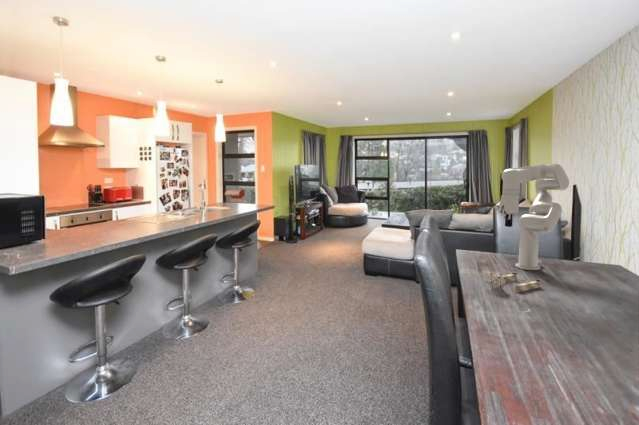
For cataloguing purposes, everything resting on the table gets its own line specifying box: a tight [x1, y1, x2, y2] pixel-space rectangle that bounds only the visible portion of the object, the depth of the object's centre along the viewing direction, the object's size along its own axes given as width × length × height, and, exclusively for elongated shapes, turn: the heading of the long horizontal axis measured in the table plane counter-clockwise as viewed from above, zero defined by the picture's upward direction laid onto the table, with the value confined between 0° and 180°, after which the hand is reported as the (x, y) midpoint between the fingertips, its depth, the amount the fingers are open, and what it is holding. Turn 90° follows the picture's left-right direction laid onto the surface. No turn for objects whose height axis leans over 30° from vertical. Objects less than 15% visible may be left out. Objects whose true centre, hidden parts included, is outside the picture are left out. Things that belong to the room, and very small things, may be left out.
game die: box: [485, 273, 509, 292], centre depth 165 cm, size 9×8×10 cm
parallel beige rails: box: [501, 271, 542, 293], centre depth 171 cm, size 16×14×4 cm
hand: (508, 226), depth 185 cm, fingers closed
